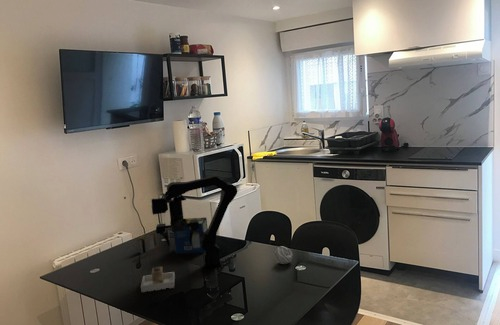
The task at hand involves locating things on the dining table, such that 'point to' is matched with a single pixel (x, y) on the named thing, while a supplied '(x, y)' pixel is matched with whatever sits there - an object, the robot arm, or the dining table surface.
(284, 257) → the grey streaked ball
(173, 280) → the housing tray
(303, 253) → the dining table surface
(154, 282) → the brown block
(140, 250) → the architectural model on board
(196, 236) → the protein box
